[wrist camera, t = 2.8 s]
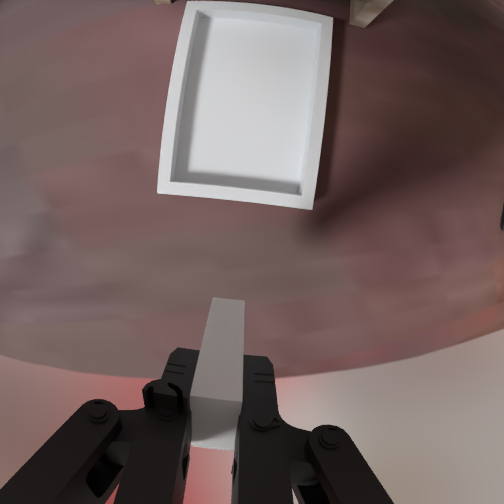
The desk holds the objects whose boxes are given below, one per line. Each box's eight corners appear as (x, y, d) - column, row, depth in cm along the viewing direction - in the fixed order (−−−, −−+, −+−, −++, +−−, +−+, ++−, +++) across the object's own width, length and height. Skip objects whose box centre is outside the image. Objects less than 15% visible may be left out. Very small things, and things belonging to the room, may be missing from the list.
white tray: (166, 189, 20) (156, 193, 18) (192, 15, 16) (187, 1, 14) (304, 204, 21) (312, 209, 18) (324, 30, 17) (333, 17, 14)
